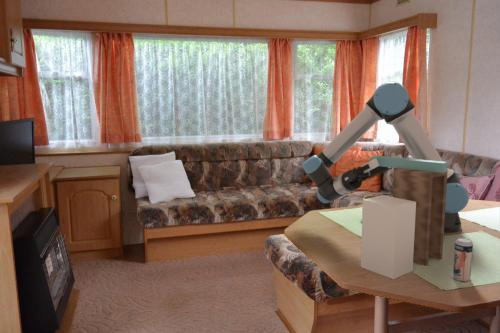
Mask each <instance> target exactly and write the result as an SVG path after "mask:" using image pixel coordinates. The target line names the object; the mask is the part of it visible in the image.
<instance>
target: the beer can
mask: <svg viewBox="0 0 500 333" xmlns="http://www.w3.org/2000/svg"><path fill="white" fill-rule="evenodd" d="M473 247H474V243H473V241H472V239H469V238H465V237H458V238H457V239H456V240H455V241H454V255H453V271H452V277H453V279H455V280H456V281H459V282H469V281H470V280H471V273H472V261H473V250H474V249H473Z"/></svg>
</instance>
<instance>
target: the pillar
mask: <svg viewBox="0 0 500 333" xmlns="http://www.w3.org/2000/svg"><path fill="white" fill-rule="evenodd" d="M375 196H376V197H372V198H368V199H362V210H361V211H362V212H361V214H362V215H361V216H362V217H361V244H360V245H361V247H360V250H361V252H360V254H361V255H360V268H363V269H366V270H368V271H371V272H373V273H375V274H378V275H381V276H384V277H386V278H389V279H392V280H395V279H397V278H400V277H402V276H404V275H407V274H409V273H411V272H413V269H414V268H413V267H414V263H413V254H414V234H415V214H416V202H414V201H409V200H405V199H400V198H395V197H393V196H390V195H384V194H381V195H375Z"/></svg>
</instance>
